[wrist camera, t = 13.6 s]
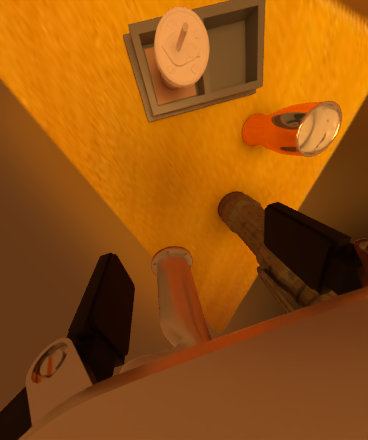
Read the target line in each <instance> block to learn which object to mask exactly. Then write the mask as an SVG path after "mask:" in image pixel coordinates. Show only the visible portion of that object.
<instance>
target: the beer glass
mask: <svg viewBox="0 0 368 440" xmlns="http://www.w3.org/2000/svg"><path fill="white" fill-rule="evenodd" d="M341 120H342V112H341V109H340V107H339V105H338V104H337V103H335V102H333V101H325V102H310V103H302V104H296V105H292V106H289V107H286V108H283V109H281V110H278V111H276V112H274V113H271V114H269V115H264V114H255V115H252V116H251V117H250V118H248V119H247V121H246V122H245V124H244V126H243V129H242V138H243V141H244V142H245V144H247V145H248V146H258V145H261V146H263V147H265V148H267V149H269V150H272V151H274V152H277V153H280V154H285V155H293V156H305V157H312V156H315V155H317V154H319V153H321V152H322V151H324V150H325V149H326V148H327V147H328V146H329V145H330V144H331V143H332V141H333V140H334V138H335V137H336V135H337V133H338V131H339V128H340V125H341Z"/></svg>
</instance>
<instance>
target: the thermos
mask: <svg viewBox="0 0 368 440" xmlns="http://www.w3.org/2000/svg"><path fill="white" fill-rule="evenodd" d="M218 213H219V215H220V217H221V218H222V220H223V221H224V222H225V224H226V225H227V226H228V227H229V228H230V230H231V231H232V232H234V233H236V234H238V236H239V237H240V238H241V239H242V240H243V241H244V243H245V244H246V245H247V246H248V247H249V248H250V250H251V251H252V252H253V253H254V254H255V256H256V258H257V262H258V263H259V264H260V266H259V267H257V272H258V274H259V276H260V278H261V279H262V280H263V282H264V283H265V285H266V286H267V288H268V289H269V290H270V292H271V293H272V294H273V296H274V297H275V298H276V300H277V301H278V302H279V304H280V305H281V306H282V308H283V309H284V310H285V312H286V313H290V312H293V311H296V310H295V308H294V307H293V306H292V305H291V303H290V302H289V301H288V300H287V299H286V297H285V296H284V295H283V294H282V292H281V291H280V290H279V289H278V287H279V288H280V289H281V290H282V291H284V292H285V293H287V294H288V295H289V296H291V297H292V298H293V299H294V300H295V301H296V302H297V303H298V304H299V305H301V306H302V307H303V308H304V307H307V306H310V305H313V304H316V303H319V302H322V301H325V300H327V299H330V298H333V297H336V293H335V292H333V291H332V290H331V292H329V293H326V294H323V295H320V294H319V293H318V292H317V291H316V290H312V289H311V288H309V287H308V286H307V285H306V284H305V283H304V282H303V281H302V280H301V279H300V278H299V277H298V276H296V275H295V274H294V273H293V272H292V271H291V270H290V269H289V268H288V267H287V266H286V265H285V264H284V263H282V262H281V261H280V260H279V259H278V258H277V257H276V256H275V255H274V254H273V253H272V252H271V251H270V250H268V249H267V248H266V247H265V245H264V217H265V210H264V209H263V208H262V206H261V204H260V203H258V202H257V201H255V200H254V199H252V198H251V197H249V196H247V195H245V194H243V193H242V192H237V191H236V192H231V193H229V194H227V195H226V196H225V197H223V199H222V200H221V201H220V203H219V206H218ZM269 277H270V278H271V279H272V280H273V281H274V283H275V284H276V285H277V286H278V287H277V286H276V285H275V284H274V283H273V281H272V280H271V279H270V278H269Z"/></svg>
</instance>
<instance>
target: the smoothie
mask: <svg viewBox="0 0 368 440" xmlns="http://www.w3.org/2000/svg"><path fill="white" fill-rule="evenodd" d="M154 53H155V60H156V63H157V66H158V69H159V70H160V72H161V77H162V81H163V83H164V84H165V86H166V87H167V88H169V89H172V90H174V89H177V88H187V87H189V86H192V85H193V84H195V83H196V82H197V81H198V80H199V79H200V77H201V76H202V74H203V73H204V71H205V69H206V66H207V63H208V58H209V39H208V34H207V31H206V28H205V26H204V24H203V22H202V20H201V19H200V18H199V16H198V15H197V14H196V13H195V12H193V11H192V10H190V9H188V8H186V7H175V8H172V9H170V10H169V11H167V12H166V13H165V14H164V15H163V17H162V18H161V20H160V22H159V24H158V26H157V30H156V34H155V40H154Z"/></svg>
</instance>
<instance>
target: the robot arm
mask: <svg viewBox="0 0 368 440" xmlns="http://www.w3.org/2000/svg"><path fill="white" fill-rule="evenodd" d="M350 239H351V237H349V236H347V235H345V234H343V233H341V232H339V231H337V230H335V229H333V228H331V227H329V226H327V225H325V224H323V223H320V222H318V221H316V220H314V219H312V218H310V217H308V216H306V215H304V214H302V213H300V212H298V211H296V210H294V209H292V208H290V207H288V206H286V205H284V204H282V203H279V202H276V203H272V204H269V205H267V208H265V217H264V245H265V247H266V248H267V249H268V250H270V251H271V252H272V253H273V254H274V255H275V256H276V257H277V258H278V259H279V260H280V261H281V262H282V263H284V264H285V265H286V266H287V267H288V268H289V269H290V270H291V271H292V272H293V273H294V274H295V275H296V276H298V277H299V278H300V279H301V280H302V281H303V282H304V283H305V284H306V285H307V286H308V287H309V288H311V289H312V290H316V291H317V292H318V293H319V294H320V295H323V294H326V293H329V292H331V290H332V291H333V292H335V293H336V297H333V298H330V299H327V300H325V301H322V302H319V303H316V304H313V305H310V306H307V307H304V308H301V309H299V310H296V311H293V312H290V313H287V314H285V315H281V316H278V317H276V318H273V319H270V320H267V321H264V322H261V323H259V324H256V325H253V326H250V327H247V328H245V329H242V330H239V331H236V332H233V333H230V334H227V335H225V336H222V337H219V338H216V339H213V340H212V337H211V335H210V332H209V330H208V327H207V324H206V321H205V318H204V314H203V311H202V308H201V304H200V301H199V298H198V294H197V291H196V287H195V284H194V281H193V277H192V274H191V271H190V269H191V267H192V263H193V260H192V256H191V254H190V253H189V252H188V251H187V250H185V249H183V248H180V247H169V248H166V249H163V250H161V251H160V252H158V253H157V254H156V255H155V256H154V257H153V260H152V263H151V268H152V271H153V273H154V274H155V275H156V276H157V280H158V297H159V315H160V325H161V329H162V331H163V333H164V335H165V336H166V338H167V339H168V340H169V341H170V342H171V343H172V345H173V346H174V348H171V349H169V350H165V351H161V352H157V353H153V354H149V355H145V356H142V357H138V358H135V359H132V360H131V361H129V362H128V363H126V364H125V366H124V367H123V368H122V370H121V372H120V374H118V375H115V376H112V375H113V371H114V368H115V367H118V366H121V365H123V364H124V360H125V355H127V354H128V350H129V341H130V331H131V330H130V329H131V320H132V312H133V302H134V291H135V288H134V284H133V282H132V280H131V278H130V277H129V275H128V273H127V272H126V270H125V268H124V267H123V265H122V263H121V262H120V260H119V258H118V256H117V255H116V254H114V255H113V254H112V253H108V254H105V255H102V256H100V258H99V260H98V263H97V265H96V267H95V270H94V272H93V274H92V277H91V279H90V281H89V284H88V286H87V288H86V291H85V293H84V295H83V298H82V300H81V302H80V305H79V307H78V309H77V312H76V314H75V317H74V319H73V321H72V323H71V326H70V328H69V333H68V335H67V337H66V338H62V339H58V340H57V341H55V342H53V343H51V344H50V345H49V346H48V347H46V348H45V349H44V350H43V351H42V352H41V353H40V354H39V356H38V357H37V358H36V360H35V361H34V363H33V364H32V366H31V367H30V369H29V372H28V374H27V377H26V387H25V388H24V389H23V390H22V391H21V392H20V393H19V394H18V395H17V396H16V397H15V398H14V399H13V400H12V401H11V402H10V403H9V404H8V405H7V406H6V407H5V408H4V409H3V410H2V411H1V412H0V440H368V238H367V239H366V238H365V239H359V240H357V241H355V243H354V244H352V243H350Z"/></svg>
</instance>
